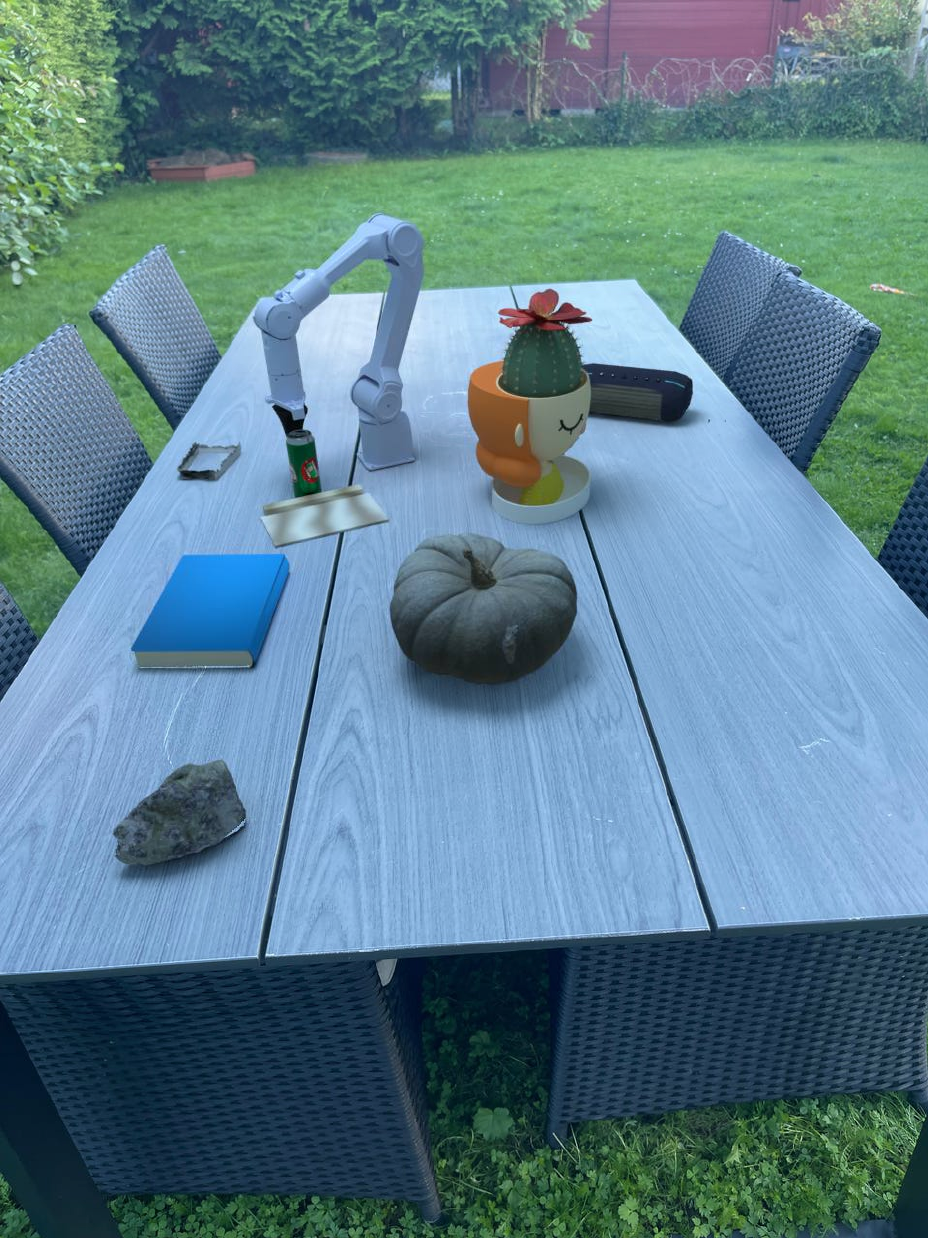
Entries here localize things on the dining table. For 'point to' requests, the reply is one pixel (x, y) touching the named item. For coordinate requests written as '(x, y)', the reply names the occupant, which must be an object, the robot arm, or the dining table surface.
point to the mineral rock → (181, 815)
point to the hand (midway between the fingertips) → (295, 442)
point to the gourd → (481, 608)
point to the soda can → (303, 463)
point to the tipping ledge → (320, 515)
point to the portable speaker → (638, 391)
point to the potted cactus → (534, 415)
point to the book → (213, 611)
